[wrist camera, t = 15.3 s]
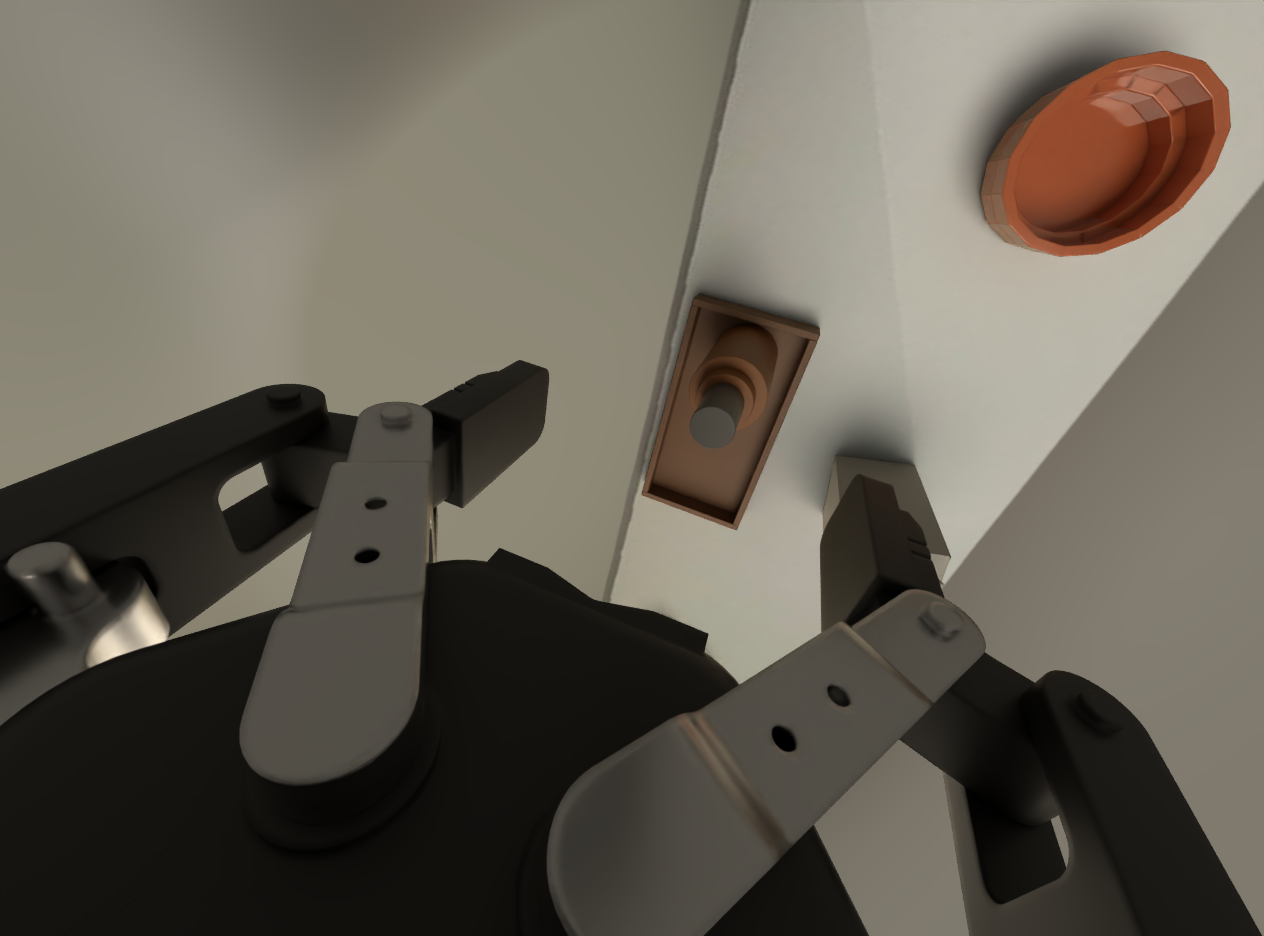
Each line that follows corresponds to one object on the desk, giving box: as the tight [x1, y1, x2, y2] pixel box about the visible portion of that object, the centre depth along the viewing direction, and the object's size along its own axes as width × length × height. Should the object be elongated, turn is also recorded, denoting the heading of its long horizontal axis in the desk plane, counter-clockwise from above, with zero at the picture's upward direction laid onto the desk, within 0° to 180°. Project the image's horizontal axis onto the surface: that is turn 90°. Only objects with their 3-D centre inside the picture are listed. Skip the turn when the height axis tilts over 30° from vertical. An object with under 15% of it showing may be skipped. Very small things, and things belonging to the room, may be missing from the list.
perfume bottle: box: [823, 455, 951, 589], centre depth 38 cm, size 7×7×18 cm
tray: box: [642, 294, 820, 530], centre depth 45 cm, size 21×11×3 cm, turn 168°
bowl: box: [981, 51, 1231, 257], centre depth 29 cm, size 10×10×5 cm
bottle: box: [689, 323, 778, 449], centre depth 35 cm, size 6×6×17 cm
